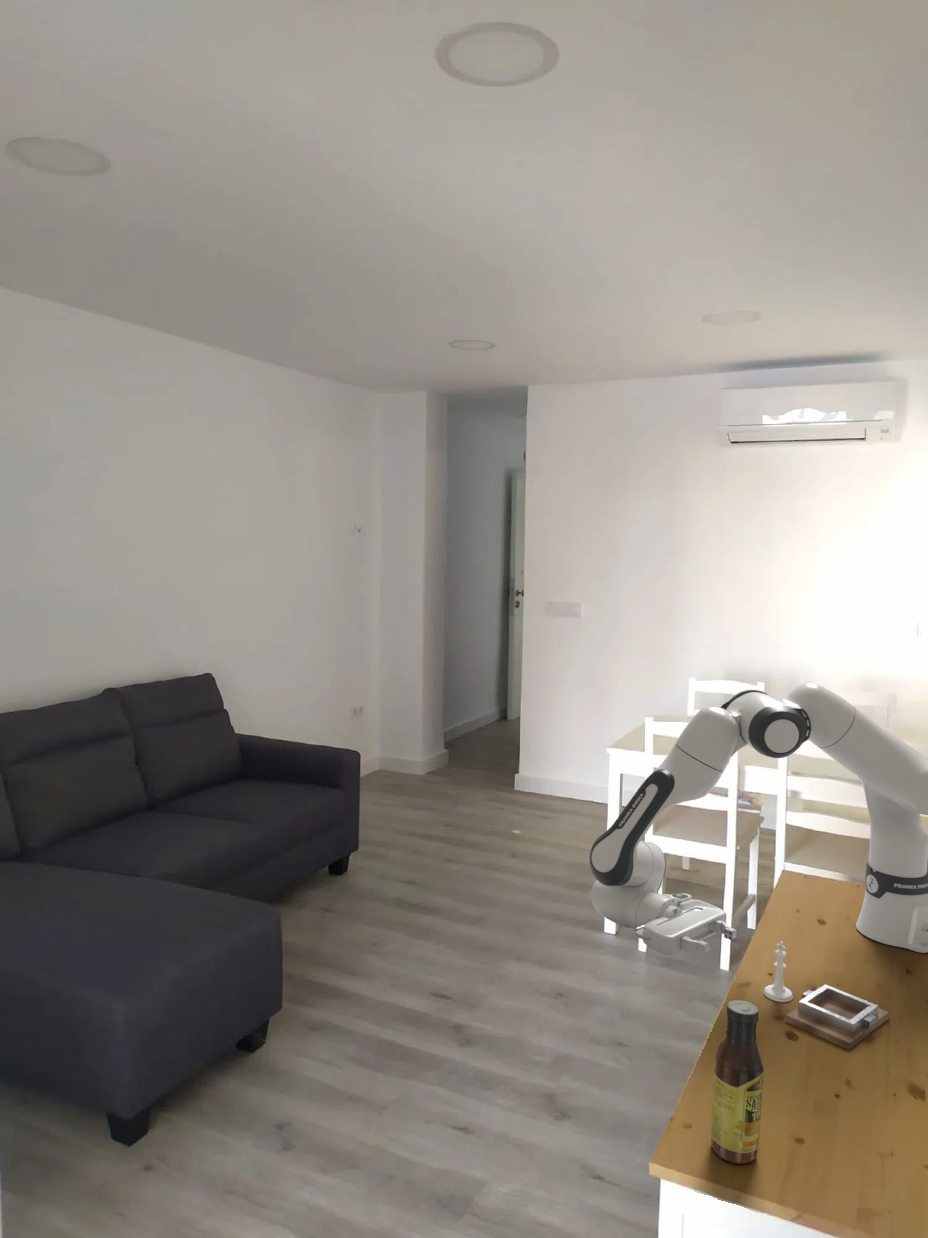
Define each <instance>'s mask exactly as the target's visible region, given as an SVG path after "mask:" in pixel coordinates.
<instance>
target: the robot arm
mask: <svg viewBox="0 0 928 1238" xmlns="http://www.w3.org/2000/svg"><path fill="white" fill-rule="evenodd" d="M807 741H809V742H811V743H812V744H813V745H814V746H817V748H819V749H820V750H821V751H822V752H824V753H825V754H826V755H828V757H831V759H833V760H835V761H836V762H837V763H838V764H840V765H841V766H842V767H844V768H845V769H846V770H848V771H850V772H851V773H853V774H855V775H856V776H857V778H858V779H859V781H860V784H861V786H862V789H863V793H864V797H865V802H866V808H867V812H868V813H867V814H868V819H869V828H870V829H869V831H870V833H869V853H868V861H867V863H866V868H865V877H864V879H865V891H864V893H865V894H864V899H863V902H862V907H861V910H860V913H859V915H858V918H857V921H856V924H855V928H856V929H857V930H858V932H860V934H861V935H863V936H865V937H867V938H868V939H871V940H874V941H876V942H878V943H881V944H884V945H889V946H891V947H892V946H893V947H898V948H904V949H907V950H910V951H914V952H916V953H921V954H926V953H928V831H927V829H926V827H925V826H924V824H923V820H922V819H921V818H922V817H921V815H922V816H923V815H924V816H928V757H927V756H926V755H924V754H923V753H921V752H920V751H918V750H917V749H915V748H914V747H912V746H911V745H909V744H907V743H906V742H904V741H903V740H901V739H900V738H898V737H897V736H895V735H893V734H892V733H890V732H889V731H887V730H886V729H885V728H883V727H881V726H880V725H879V724H878V723H876V722H875V721H873V720H872V719H871V718H870V717H868V716H867V715H865V713H863V712H862V711H860V710H859V709H858V708H856V707H855V706H853V705H852V704H851V703H850V702H849V701H847V700H846V699H844V698H843V697H842V696H840V695H838V694H836V693H835V692H833V691H831V690H829V689H828V688H826V687H824V686H822V685H820V684H817V683H813V682H805V683H802V684H800V685H798V686H796V687H795V688H794V689H792V691H790V693H789V694H788V696H786V697H784V698H782V699H781V698H780V699H779V698H776V697H774V696H771V695H769V694H767V693H766V692H764V691H763V690H762V691H761V690H757V689H746V690H742V691H740V692H738V693H736V694H735V695H733V696H732V697H731V698H730V699H729V700H728V701H726V702H725V703H723V704H721V706H711V705H710V706H704V707H703V708H701V709H700V710H699V711H698V712H696V714H695V715H694V716H693V718H692V719H691V720H690V721H689V722H688V724H687V725H686V727H685V728H684V729H683V730H682V732H681V733H680V736H679V737H678V738H677V740H676V741H675V744H674V745H673V747H672V749H671V750H670V752H669V753H668V755H667V756H666V758H665V759H664V760H663V761H662V762H661V764H660V765H659V766H658V767H657V768H656V769H655V770H654V771H653V772H652V773H651V774H650V775H649V776H647V778H645V780H644V781H643V782H642V784H641V785H640V786H639V787H638V789H637V790H636V792H635V793H634V795H632V797H631V799H630V800H629V802H627V804H626V806H625V807H624V808H623V810H622V812H621V813H620V814H619V815H618V817H617V818H616V820H615V821H614V822H613V824H612V825H610V827H609V828H608V829H607V830H606V831H605V832H604V833H602V834H601V835H599V836H598V837H597V838H596V839H595V841H594V842H593V844H592V846H591V848H590V850H589V856H588V857H589V858H588V859H589V860H588V861H589V868H590V870H591V872H592V875H593V877H594V878H595V879H596V880H595V881H594V883H593V885H592V888H591V893H590V894H591V895H590V896H591V902H592V905H593V907H594V908H595V911H597V913H599V914H600V915H601V916H603V918H605V919H607V920H609V921H611V922H612V923H614V924H616V925H619V926H621V927H623V928H628V929H633V930H634V931H633V933H634V937H637V938H639V939H641V940H642V942H643V943H644V944H645V945H646V946H647V947H649V948H651V949H653V950H655V951H656V952H659V953H660V954H662V955H667V956H673V955H675V954H676V953H678V952H681V951H685V952H686V951H688V952H689V951H690V952H698V953H700V954H702V955H705V954H706V953H708V952H709V951H710V943H709V942H708V941H707V942H706V941H704V939H707V938H709V937H711V936H713V935H715V934H723V937H724V938H725V939H727V940H730V941H733V940H734V939H736V938H737V932H738V931H737V930H736V929H735V928H733V927H730V926H729V925H728V924H727V912H725V910H724V909H722V908H720V907H718V906H716V905H713V904H711V903H708V902H706V901H704V900H700V899H693V896H692V895H691V894H688V893H675V894H667V893H662V894H661V893H658V892H659V890H660V887H661V884H662V882H663V878H664V876H665V873H666V870H667V869H666V867H667V863H666V858H665V854H664V852H663V851H662V849H661V848H660V847H659V846H658V845H657V844H656V843H654V842H651V841H646V840H642V839H644V837H645V835H646V834H647V833H648V831H649V830H650V828H651V826H652V825H653V824H654V823H655V821H656V820H657V818H658V817H659V816H660V815H661V814H662V813H663V812H664V811H666V810H667V809H669V808H670V807H672V806H673V807H674V806H675V805H678V804H681V803H685V802H690V801H697V800H699V799H701V798H704V797H705V796H707V795H708V794H709V793H710V792H711V791H712V789H714V788H715V786H716V785H717V783H718V782H719V780H720V778H721V777H722V775H723V773H724V771H725V770H726V768H727V766H728V764H729V762H730V761H731V758H732V757H733V756H734V754H736V753H737V752H738V751H739V750H741V749H742V748H744V747H746V746H747V745H748V746H749V747H750V748H753V749H754V750H755V751H756V752H757V753H759V754H760V755H763V756H765V757H768V758H772V759H782V758H786V757H788V756H789V757H790V755H792V754H794V753H795V752H796V751H798V750H799V748H801V746H802V745H803V744H804V743H805V742H807Z"/></svg>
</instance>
